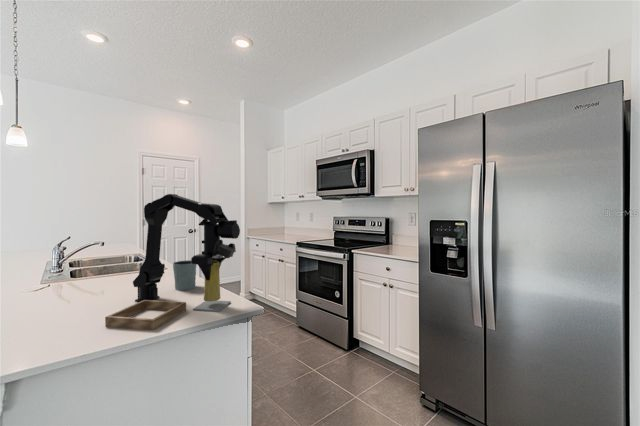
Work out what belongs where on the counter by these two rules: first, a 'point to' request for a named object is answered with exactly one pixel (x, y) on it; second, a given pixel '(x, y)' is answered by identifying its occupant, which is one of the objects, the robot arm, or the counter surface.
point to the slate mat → (212, 306)
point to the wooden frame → (125, 321)
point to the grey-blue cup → (184, 275)
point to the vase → (213, 284)
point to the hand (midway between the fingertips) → (212, 278)
